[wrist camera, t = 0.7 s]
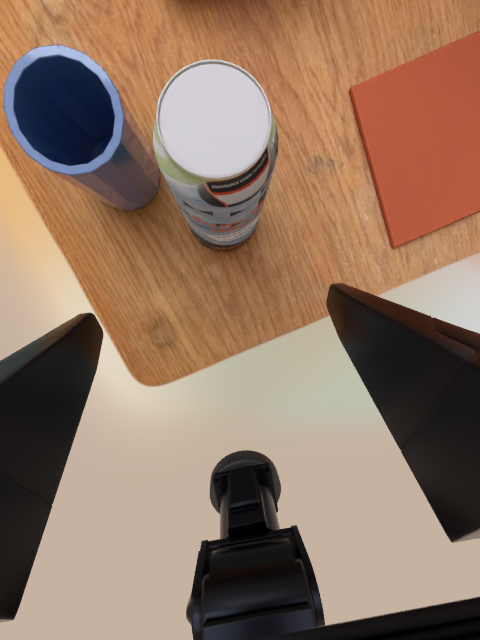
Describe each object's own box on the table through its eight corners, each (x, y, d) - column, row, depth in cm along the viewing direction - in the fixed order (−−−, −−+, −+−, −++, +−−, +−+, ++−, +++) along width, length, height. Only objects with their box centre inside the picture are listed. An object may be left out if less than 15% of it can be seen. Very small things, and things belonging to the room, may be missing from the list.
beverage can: (206, 263, 23) (188, 253, 11) (170, 183, 21) (106, 71, 9) (268, 236, 23) (317, 197, 11) (237, 154, 21) (255, 5, 9)
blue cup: (167, 204, 21) (135, 165, 14) (98, 215, 21) (26, 182, 13) (150, 128, 20) (105, 37, 12) (78, 138, 20) (-15, 53, 12)
